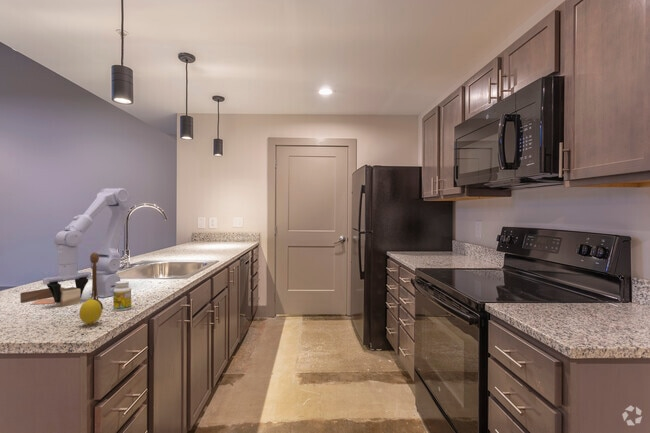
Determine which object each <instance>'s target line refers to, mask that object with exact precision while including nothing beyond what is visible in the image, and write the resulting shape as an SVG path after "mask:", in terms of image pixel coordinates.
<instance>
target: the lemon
mask: <svg viewBox="0 0 650 433" xmlns="http://www.w3.org/2000/svg"><path fill="white" fill-rule="evenodd" d="M102 312H103V309H102V308H101V305H100V303H99V302H98V301H96V300H93V298H92V299H91V298H89V299H87V300H86V301H84V302H83V303H82V304H81V306H80V309H79V318H80V320H81V322H83V323H85V324H88V325H90V326H92V325H93V324H94V323H96V322H98V320H99V319H100V318H101V316H102Z"/></svg>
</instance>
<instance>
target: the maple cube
mask: <svg viewBox="0 0 650 433" xmlns="http://www.w3.org/2000/svg"><path fill="white" fill-rule="evenodd" d="M64 288H65V289H60V303H56V302H55V306H59V307H61V308H65V307H70V306H74V305H79V304H81V302H82V301H81V300H82V296H81V290H80V289H79V288H76V286H75V287H73V286H72V287H64Z"/></svg>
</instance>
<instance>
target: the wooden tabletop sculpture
mask: <svg viewBox="0 0 650 433" xmlns="http://www.w3.org/2000/svg"><path fill="white" fill-rule="evenodd" d="M98 260H99V256H98V254H97V253H96V252H92V253H91V254H90V256H89V261H90V262H91V263H93V267H92V269H91V270H92V272H91V279H92V280H91V282H92V283H91V284H92V285H91V293H92V295H90V296H91V298H90V299H93V300H96V301H98V302H99V303H100V305H101V308H102V310H103V309H104V306H103V303H102V302H101V300H99V297H98V294H97V273H96V267H97V266H96V263H97V262H98Z"/></svg>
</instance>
